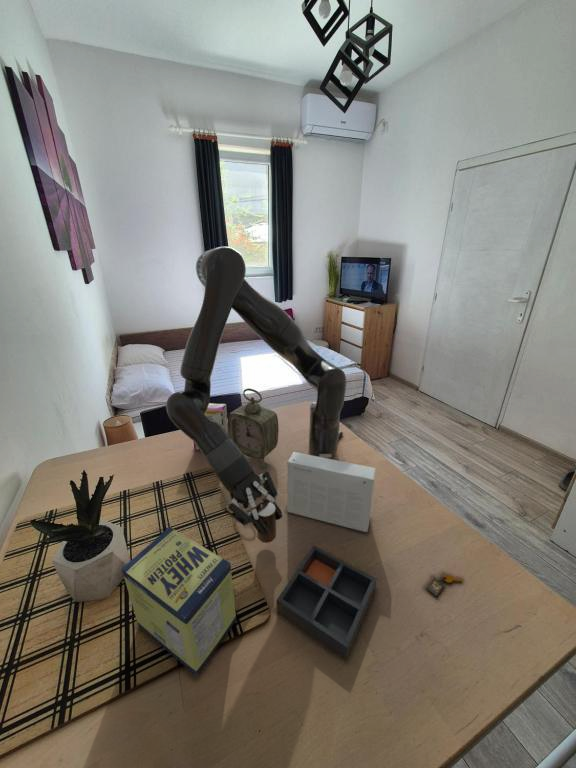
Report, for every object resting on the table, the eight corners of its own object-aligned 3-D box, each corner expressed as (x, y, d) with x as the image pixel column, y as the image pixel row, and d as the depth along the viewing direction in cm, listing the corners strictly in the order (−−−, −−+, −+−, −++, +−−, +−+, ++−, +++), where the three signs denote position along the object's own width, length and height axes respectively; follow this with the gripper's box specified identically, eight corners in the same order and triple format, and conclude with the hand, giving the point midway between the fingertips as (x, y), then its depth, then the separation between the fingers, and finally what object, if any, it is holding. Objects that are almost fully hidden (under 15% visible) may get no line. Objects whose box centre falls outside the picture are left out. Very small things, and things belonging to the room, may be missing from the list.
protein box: (179, 579, 68) (169, 525, 62) (238, 619, 61) (232, 562, 55) (136, 626, 60) (118, 568, 54) (197, 678, 53) (186, 619, 47)
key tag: (434, 598, 65) (435, 596, 65) (422, 585, 67) (423, 583, 67) (462, 580, 68) (462, 578, 68) (450, 568, 71) (450, 566, 70)
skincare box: (369, 517, 84) (376, 467, 78) (367, 533, 79) (374, 481, 73) (292, 497, 90) (293, 450, 84) (286, 512, 86) (286, 462, 79)
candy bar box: (193, 451, 110) (188, 408, 104) (199, 442, 115) (193, 401, 108) (226, 453, 109) (222, 410, 103) (229, 444, 114) (226, 403, 107)
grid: (313, 556, 74) (313, 545, 72) (374, 590, 66) (376, 578, 65) (276, 611, 62) (276, 599, 61) (346, 660, 55) (347, 647, 54)
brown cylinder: (264, 524, 78) (263, 498, 75) (279, 532, 76) (279, 506, 73) (253, 537, 75) (251, 510, 72) (268, 546, 73) (267, 519, 69)
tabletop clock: (230, 457, 107) (224, 388, 97) (247, 444, 114) (243, 378, 104) (265, 472, 100) (263, 400, 90) (281, 457, 107) (281, 388, 97)
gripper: (213, 475, 66) (263, 545, 65) (257, 442, 77) (300, 501, 76) (198, 486, 71) (244, 551, 70) (241, 453, 82) (281, 509, 81)
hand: (273, 525), depth 73 cm, fingers closed on brown cylinder, 4 cm apart
